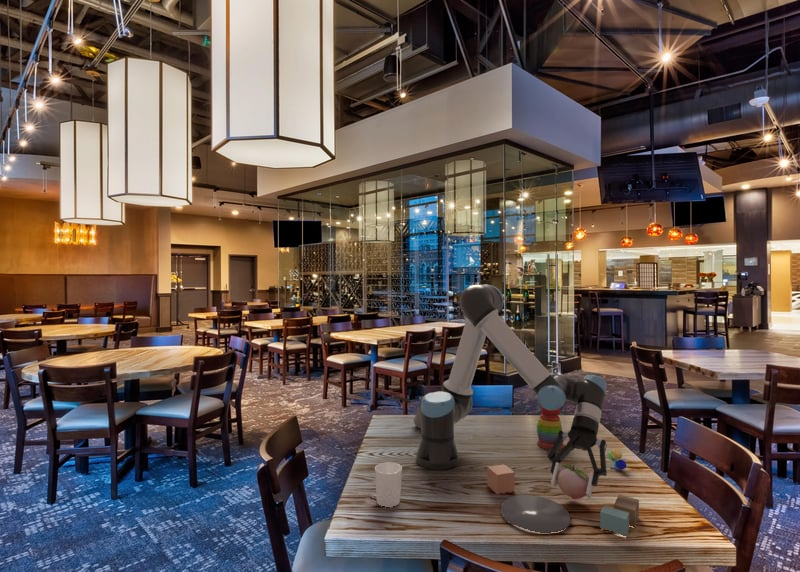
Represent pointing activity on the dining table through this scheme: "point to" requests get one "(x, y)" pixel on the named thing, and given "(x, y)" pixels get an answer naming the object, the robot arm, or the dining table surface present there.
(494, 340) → the robot arm
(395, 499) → the white cup
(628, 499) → the walnut block
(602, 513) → the teal block
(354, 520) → the dining table surface
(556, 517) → the slate plate
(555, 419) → the stacking bear
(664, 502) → the dining table surface
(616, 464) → the dice
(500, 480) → the terracotta block
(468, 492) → the dining table surface
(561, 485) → the decorative fruit
